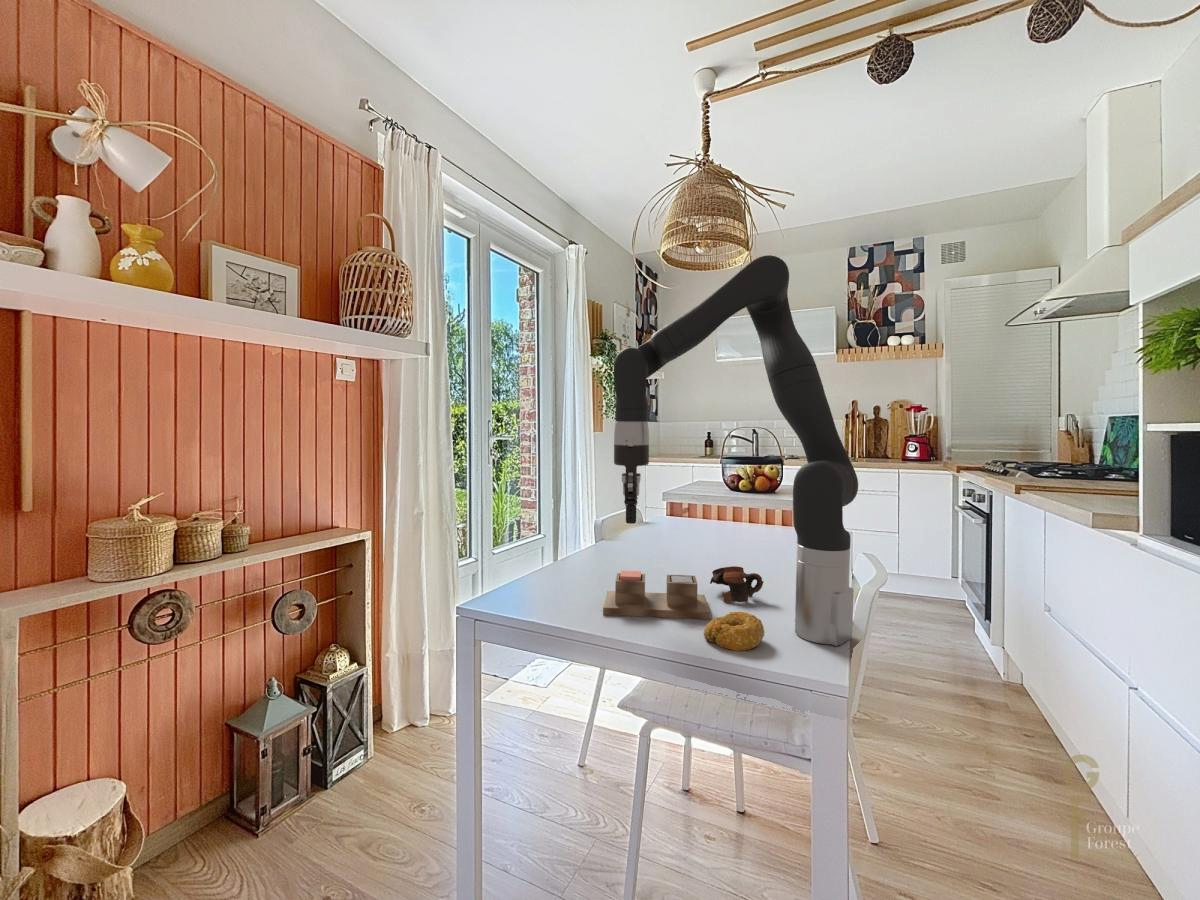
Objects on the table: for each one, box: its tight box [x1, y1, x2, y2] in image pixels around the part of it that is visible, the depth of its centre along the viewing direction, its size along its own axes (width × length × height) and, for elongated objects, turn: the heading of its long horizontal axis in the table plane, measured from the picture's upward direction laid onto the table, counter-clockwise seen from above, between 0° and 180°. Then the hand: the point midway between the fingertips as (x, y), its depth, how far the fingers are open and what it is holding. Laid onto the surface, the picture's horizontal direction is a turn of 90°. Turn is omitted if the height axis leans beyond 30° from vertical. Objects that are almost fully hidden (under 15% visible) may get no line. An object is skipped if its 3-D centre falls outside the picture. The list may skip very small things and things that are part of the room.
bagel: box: [702, 611, 766, 652], centre depth 97 cm, size 10×11×5 cm
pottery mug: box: [709, 565, 764, 603], centre depth 121 cm, size 12×10×8 cm
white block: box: [671, 576, 693, 583], centre depth 113 cm, size 4×4×5 cm
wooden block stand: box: [602, 572, 711, 620], centre depth 113 cm, size 22×11×6 cm, turn 84°
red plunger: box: [620, 570, 642, 581], centre depth 114 cm, size 4×4×5 cm
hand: (631, 522), depth 113 cm, fingers closed
